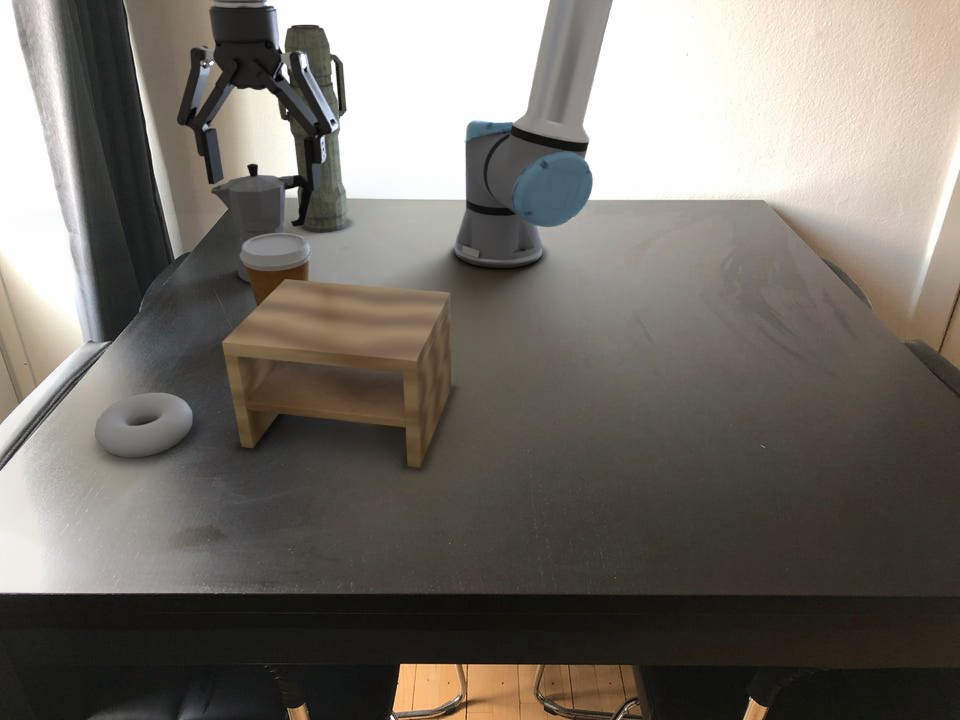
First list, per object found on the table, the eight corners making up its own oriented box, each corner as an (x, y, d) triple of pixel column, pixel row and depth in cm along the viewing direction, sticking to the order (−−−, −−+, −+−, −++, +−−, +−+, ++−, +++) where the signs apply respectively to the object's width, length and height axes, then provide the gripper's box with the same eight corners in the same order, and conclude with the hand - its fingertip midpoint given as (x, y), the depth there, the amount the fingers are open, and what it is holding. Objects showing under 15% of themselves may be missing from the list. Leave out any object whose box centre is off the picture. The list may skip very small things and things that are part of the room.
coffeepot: (229, 290, 116) (210, 176, 107) (222, 268, 123) (204, 160, 114) (327, 276, 121) (316, 166, 112) (315, 255, 128) (304, 151, 120)
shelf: (297, 373, 94) (285, 279, 88) (451, 388, 91) (450, 292, 85) (241, 447, 80) (221, 342, 74) (420, 468, 78) (416, 360, 71)
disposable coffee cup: (303, 341, 101) (293, 259, 95) (239, 334, 103) (225, 253, 97) (329, 311, 109) (321, 234, 103) (269, 305, 111) (258, 229, 105)
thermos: (363, 225, 142) (348, 26, 125) (305, 236, 137) (281, 30, 119) (343, 212, 149) (327, 22, 131) (287, 223, 143) (262, 25, 125)
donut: (96, 426, 84) (101, 474, 76) (88, 400, 82) (93, 446, 74) (188, 404, 88) (202, 448, 80) (182, 379, 86) (196, 421, 78)
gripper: (124, 2, 84) (160, 186, 95) (334, 10, 81) (348, 199, 91) (160, -2, 91) (190, 171, 101) (355, 5, 87) (366, 183, 98)
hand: (265, 185), depth 96 cm, fingers open, 13 cm apart
